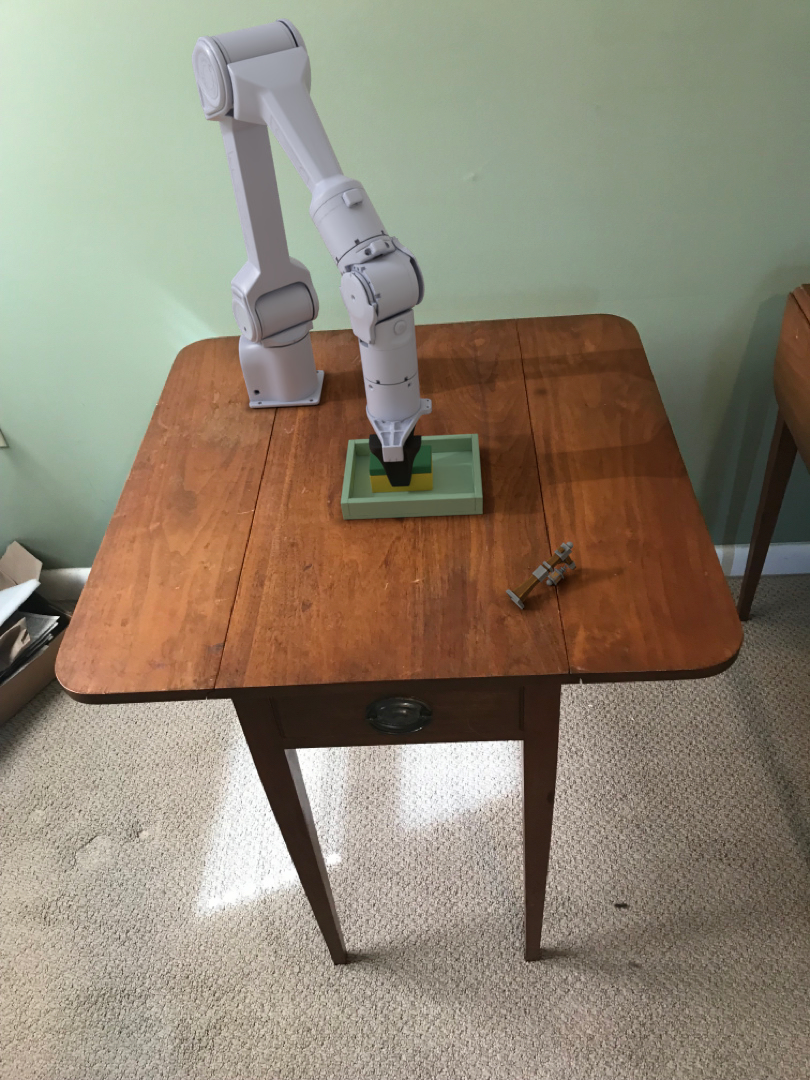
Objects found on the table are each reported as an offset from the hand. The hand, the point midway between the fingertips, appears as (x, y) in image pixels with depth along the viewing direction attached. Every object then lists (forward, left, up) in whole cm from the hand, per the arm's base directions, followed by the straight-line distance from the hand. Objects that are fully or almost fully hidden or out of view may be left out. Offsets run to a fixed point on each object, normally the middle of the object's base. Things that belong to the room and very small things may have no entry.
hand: (401, 472), depth 89 cm
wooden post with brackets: (+14, -17, -2) cm, 22 cm away
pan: (+1, 0, -2) cm, 2 cm away
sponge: (0, 0, -1) cm, 1 cm away
